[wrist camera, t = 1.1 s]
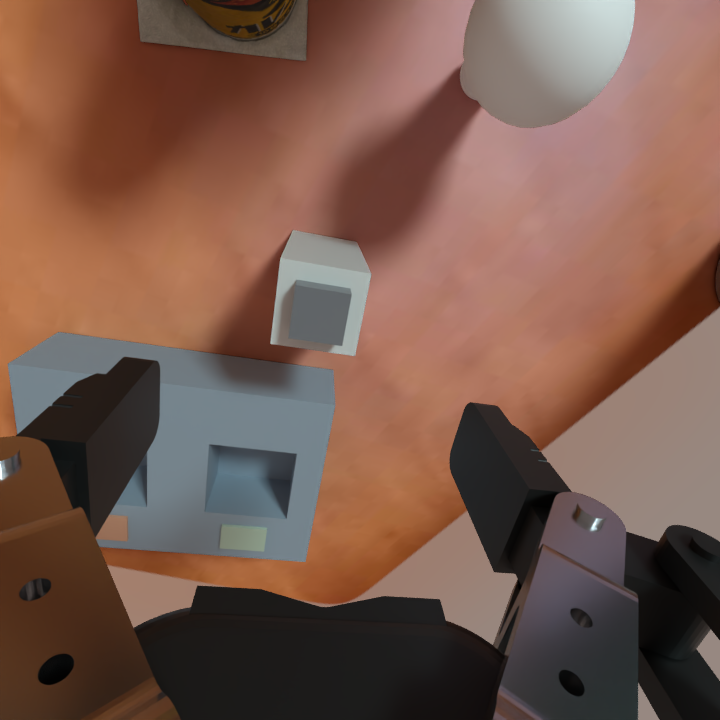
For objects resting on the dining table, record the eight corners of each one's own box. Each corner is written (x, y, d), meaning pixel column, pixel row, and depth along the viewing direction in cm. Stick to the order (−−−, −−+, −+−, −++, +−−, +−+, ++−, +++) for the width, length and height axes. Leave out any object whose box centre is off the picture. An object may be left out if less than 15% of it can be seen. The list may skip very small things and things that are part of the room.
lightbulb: (488, 159, 26) (592, 154, 16) (403, 100, 25) (458, 54, 15) (553, 53, 24) (716, -26, 14) (464, -18, 23) (577, -164, 13)
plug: (356, 241, 28) (373, 279, 18) (345, 302, 29) (356, 364, 20) (292, 229, 27) (278, 263, 18) (285, 292, 28) (267, 352, 19)
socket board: (333, 370, 31) (335, 406, 26) (307, 511, 36) (305, 564, 31) (58, 332, 28) (5, 365, 24) (71, 490, 33) (30, 544, 29)
